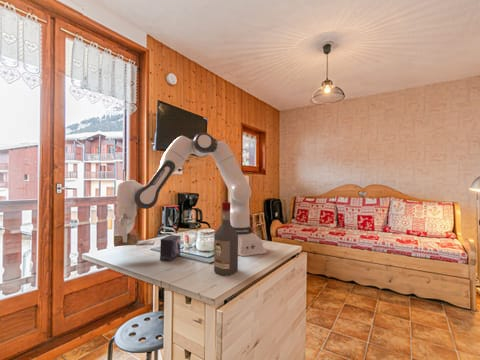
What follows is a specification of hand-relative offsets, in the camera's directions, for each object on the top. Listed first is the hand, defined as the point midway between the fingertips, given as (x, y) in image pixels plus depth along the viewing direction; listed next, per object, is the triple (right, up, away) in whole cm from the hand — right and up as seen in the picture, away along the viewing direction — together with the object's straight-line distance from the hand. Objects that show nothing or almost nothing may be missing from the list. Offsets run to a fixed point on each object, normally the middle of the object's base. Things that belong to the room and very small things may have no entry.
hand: (126, 240), depth 121 cm
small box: (+20, -10, +5) cm, 23 cm away
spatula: (+4, -2, +1) cm, 4 cm away
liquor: (+50, -10, -14) cm, 53 cm away
